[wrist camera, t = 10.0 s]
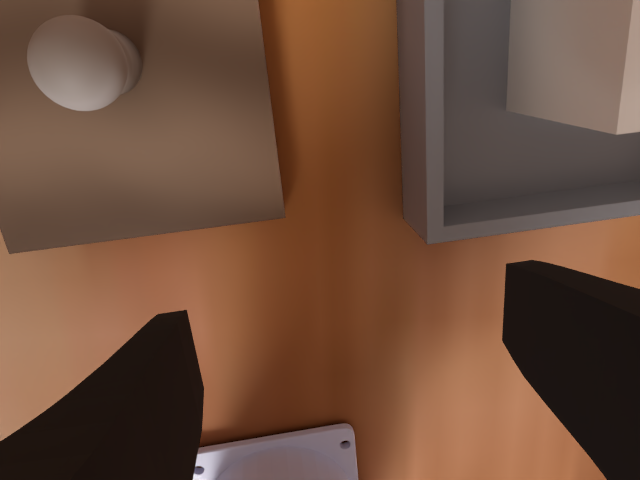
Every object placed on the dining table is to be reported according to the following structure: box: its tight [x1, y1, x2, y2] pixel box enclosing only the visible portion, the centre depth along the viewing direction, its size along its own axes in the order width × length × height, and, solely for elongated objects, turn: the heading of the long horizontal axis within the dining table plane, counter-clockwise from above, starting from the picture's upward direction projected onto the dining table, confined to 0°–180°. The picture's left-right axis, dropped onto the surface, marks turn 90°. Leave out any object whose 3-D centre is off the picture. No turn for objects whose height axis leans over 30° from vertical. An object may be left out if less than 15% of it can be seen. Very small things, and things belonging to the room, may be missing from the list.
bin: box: [396, 0, 640, 244], centre depth 17 cm, size 12×12×3 cm
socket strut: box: [506, 0, 640, 135], centre depth 15 cm, size 4×4×6 cm
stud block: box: [0, 0, 286, 254], centre depth 14 cm, size 12×10×5 cm
